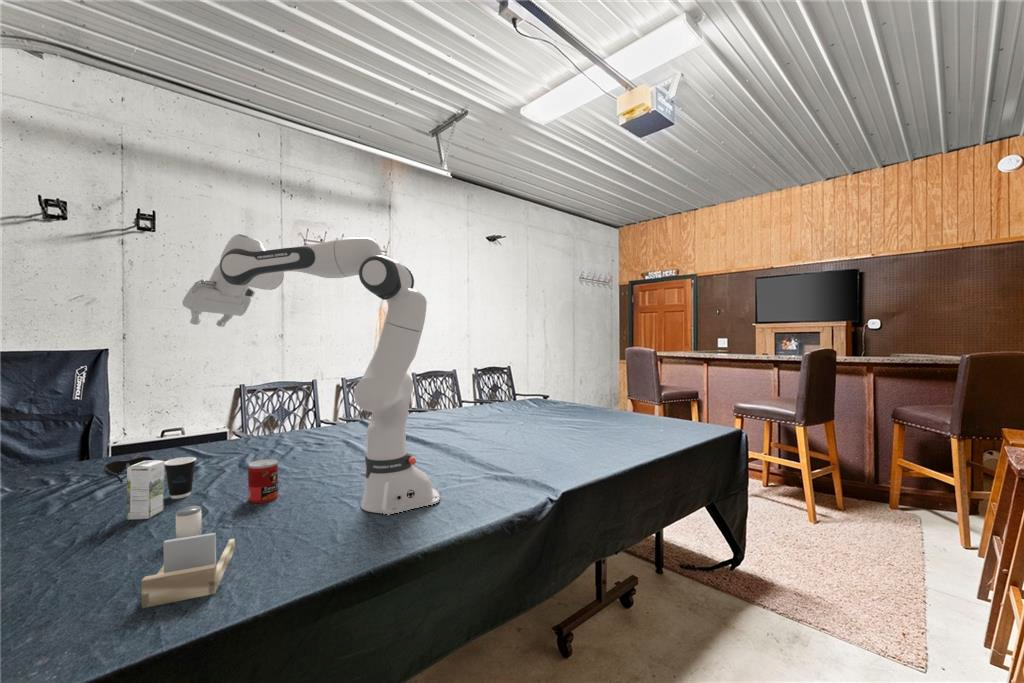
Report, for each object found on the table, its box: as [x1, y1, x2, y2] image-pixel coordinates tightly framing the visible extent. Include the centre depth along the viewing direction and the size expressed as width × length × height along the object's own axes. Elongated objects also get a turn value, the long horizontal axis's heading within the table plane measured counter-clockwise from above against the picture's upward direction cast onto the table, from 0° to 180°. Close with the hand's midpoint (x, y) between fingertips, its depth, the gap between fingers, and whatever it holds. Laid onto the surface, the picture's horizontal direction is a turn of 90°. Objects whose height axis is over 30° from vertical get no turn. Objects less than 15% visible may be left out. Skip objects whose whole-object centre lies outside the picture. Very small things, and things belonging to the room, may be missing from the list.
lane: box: [141, 538, 236, 609], centre depth 87 cm, size 18×11×5 cm, turn 23°
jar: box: [175, 505, 203, 539], centre depth 103 cm, size 5×5×7 cm
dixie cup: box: [164, 456, 197, 500], centre depth 131 cm, size 8×8×11 cm
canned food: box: [247, 458, 279, 504], centre depth 129 cm, size 8×8×11 cm
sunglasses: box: [103, 456, 156, 483], centre depth 151 cm, size 14×16×5 cm
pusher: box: [162, 532, 217, 573], centre depth 85 cm, size 1×8×8 cm, turn 113°
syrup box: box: [126, 459, 165, 520], centre depth 117 cm, size 6×6×14 cm
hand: (207, 325), depth 129 cm, fingers open, 8 cm apart
